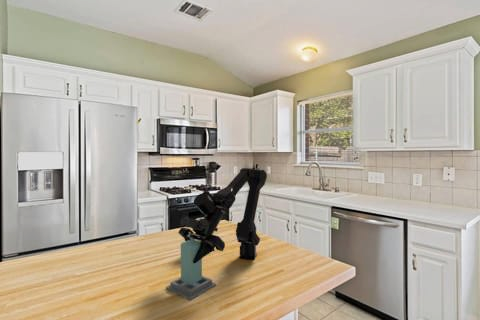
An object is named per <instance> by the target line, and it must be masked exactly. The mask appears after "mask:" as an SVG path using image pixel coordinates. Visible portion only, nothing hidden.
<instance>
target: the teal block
mask: <svg viewBox="0 0 480 320" xmlns="http://www.w3.org/2000/svg"><path fill="white" fill-rule="evenodd" d="M200 244H201V242H200V241H197V240H193V239H191V240H188V241H185V240H184V241H183V242H181V243H180V278H181V281H183V282H185V283H188V284H190V285H192V284H194V283H196V282H198V281H200V280H202V276H203V258H202V259H200V260H199V261H198V262H196V263H193V260H194V258H195V256H196V254H197V252H198V250H199V248H200Z"/></svg>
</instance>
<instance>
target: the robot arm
mask: <svg viewBox="0 0 480 320" xmlns="http://www.w3.org/2000/svg"><path fill="white" fill-rule="evenodd" d="M267 178H268V174H267V172H266V171H265V170H264V169H256V168H255V169H254V168H251V167H249V168H247V167H243V168H240V170H239V172H238V173H237V175H236V176H235V177H234V178H233V179H232V180H231V181H230V182H229V184H228V185H227V186H225V187H223V188H221V189H219V190H218V191H217V192H215V193H214V194H213V195H212V194H211V193H210V191H208V190H203V192H201V193H199V194H197V196H195V197H194V199H193V204H194V205H195V207H196V208H197V209H198V210H199V211H200V212H201V213H202V214H203V215H204V216H203V218H204V219H200V220H196V219H194V218H190V217H188V219H187V222H186V224H185V225H186V226H185V227H180V229H179V230H178V234H179V235H180V236H181V237H182V238H183V239H184V242H185V241H188V240H191V239H193V240H196V241H197V240H199V241H201V244H200V248H199V250H198V252H197V254H196V256H195V258H194V260H193V263H196V262H198V261H199V260H200V259H202V260H203V258H204V257H206V256H208V255H209V254H210V253H212V252H215V251H219V252H223V251H224V250H225V248H226V243H225V242H224V240H223V239H222V238H221V237H220V236H218V235H215V234H214V232H217V233H218V230H219V229H218V228H217V227H218V226H219V223H220V222H221V220H222V219H227V213H226V211H225V210H222V209H231V208H232V206H233V205H234V203H235V201H236V195H237V194H238V193H239V192H240V190H242V188H243V186H245V185H246V183H247V184H248V188H249V189H248V193H247V197H246V203H245V208H244V212H243V218H242V219H241V221H240V222H239V221H238V222H237V224H236V229H235V236H236V240H237V242H238V243H240V245H239V259H241V260H242V259H244V260H255V259H256V258H257V255H258V253H257V246H258V245H259V244H260V241H261V238H260V236H259V235H258V234H257V227H256V223H255V219H256V215H257V214H256V213H257V208H258V202H259V197H260V192H261V189H262V188H263V187H264V186H265V184H266V181H267ZM191 229H192V230H191ZM198 237H199V238H198Z"/></svg>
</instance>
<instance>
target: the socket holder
mask: <svg viewBox="0 0 480 320" xmlns="http://www.w3.org/2000/svg"><path fill="white" fill-rule="evenodd" d="M215 287H217V283H215V282H213V279H211V278H209V277H206V276H204V275H202V280H200V281H198V282H196V283H194V284H192V285H190V284H188V283H185V282H183V281H181V277H178V278H177V279H174V280H172V281H170V283H169V285H167V286H166V287H165V289H166V290H168V291H169V292H172V293H174V294H176V295H178V296H180V297H182V298H184V299H186V300H188V301H192V300H193V299H194V300H195V299H196V298H197V297H199V296H201V295H202V294H204V293H207V292H208V291H209V290H211V289H213V288H215Z"/></svg>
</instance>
